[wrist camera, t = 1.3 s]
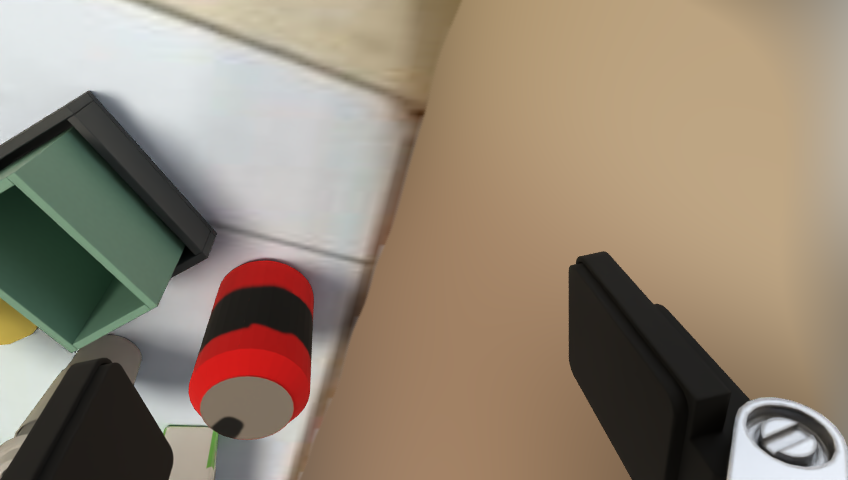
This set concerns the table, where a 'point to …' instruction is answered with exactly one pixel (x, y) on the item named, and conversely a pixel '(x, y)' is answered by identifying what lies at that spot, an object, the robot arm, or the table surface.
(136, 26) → the table surface
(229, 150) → the table surface
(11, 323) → the candle
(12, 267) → the box
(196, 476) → the ink box
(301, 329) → the soda can
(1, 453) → the cup
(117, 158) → the bottom bin
